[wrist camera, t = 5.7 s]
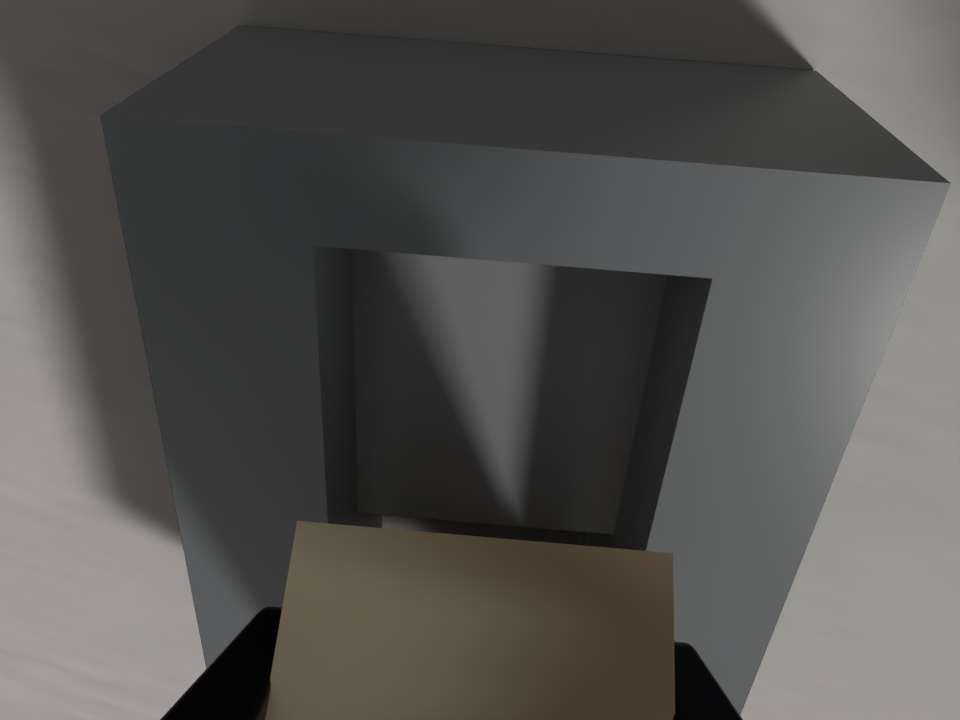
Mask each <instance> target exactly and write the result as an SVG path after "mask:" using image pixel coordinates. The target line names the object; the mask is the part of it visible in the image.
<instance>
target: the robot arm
mask: <svg viewBox="0 0 960 720" xmlns="http://www.w3.org/2000/svg"><path fill="white" fill-rule="evenodd" d="M281 612H282V607H265V608H263V609H262V610H260V611H259V612H258V613H257V614H256V615H255V616H254V618H253V619H252V620H251V621H250V622H249V623H248V624H247V625H246V626H245V627H244V629H243V630H242V631H241V632H240V633H239V634H238V635H237V636H236V637H235V638H234V639H233V641H232V642H231V643H230V644H229V645H228V646H227V647H226V648H225V649H224V650H223V652H222V653H221V654H220V655H219V656H218V657H217V658H216V659H215V660H214V661H213V663H212V664H211V665H210V666H209V667H208V668H207V669H206V670H205V671H204V672H203V673H202V675H201V676H200V677H199V678H198V679H197V680H196V681H195V682H194V683H193V684H192V686H191V687H190V688H189V689H188V690H187V691H186V692H185V693H184V694H183V695H182V697H181V698H180V699H179V700H178V701H177V702H176V703H175V704H174V705H173V706H172V707H171V709H170V710H169V711H168V712H167V713H166V714H165V715H164V716H163V717H162V718H161V720H265V717H266V712H267V706H268V701H269V696H270V690H271V682H270V676H271V671H272V665H273V659H274V653H275V647H276V641H277V636H278V630H279V624H280V618H281ZM674 659H675V715H674V717H673V720H743V719H742V718H741V716H740V715H739V713H738V712H737V710H736V709H735V708H734V706H733V705H732V703H731V702H730V700H729V699H728V697H727V696H726V694H725V693H724V691H723V690H722V688H721V687H720V685H719V684H718V682H717V681H716V679H715V678H714V676H713V675H712V673H711V672H710V670H709V669H708V667H707V666H706V664H705V663H704V661H703V660H702V658H701V657H700V655H699V654H698V652H697V651H696V650H695V648H694V647H693V646H691V645H690V644H689V643H685V642H675V641H674Z"/></svg>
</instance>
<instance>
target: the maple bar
mask: <svg viewBox="0 0 960 720" xmlns="http://www.w3.org/2000/svg"><path fill="white" fill-rule="evenodd" d="M270 682H271V690H270V696H269V701H268V706H267V712H266V717H265V720H673V717H674V715H675V659H674V581H673V553H665V552H653V551H641V550H630V549H618V548H607V547H595V546H583V545H572V544H560V543H548V542H537V541H525V540H514V539H502V538H490V537H479V536H467V535H455V534H444V533H432V532H421V531H409V530H397V529H386V528H374V527H363V526H351V525H339V524H328V523H316V522H304V521H297V524H296V530H295V536H294V542H293V548H292V554H291V560H290V565H289V571H288V577H287V583H286V589H285V595H284V600H283V606H282V612H281V618H280V624H279V630H278V636H277V641H276V647H275V653H274V659H273V665H272V671H271V676H270Z"/></svg>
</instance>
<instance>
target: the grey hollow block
mask: <svg viewBox="0 0 960 720" xmlns="http://www.w3.org/2000/svg"><path fill="white" fill-rule="evenodd" d="M101 121H102V126H103V131H104V136H105V141H106V147H107V152H108V157H109V162H110V168H111V173H112V178H113V183H114V189H115V194H116V199H117V204H118V209H119V215H120V220H121V225H122V230H123V236H124V241H125V246H126V251H127V256H128V262H129V267H130V272H131V277H132V283H133V288H134V293H135V298H136V303H137V309H138V314H139V319H140V324H141V330H142V335H143V340H144V345H145V351H146V356H147V361H148V366H149V371H150V377H151V382H152V387H153V392H154V398H155V403H156V408H157V413H158V418H159V424H160V429H161V434H162V439H163V445H164V450H165V455H166V460H167V466H168V471H169V476H170V481H171V486H172V492H173V497H174V502H175V507H176V513H177V518H178V523H179V528H180V533H181V539H182V544H183V549H184V554H185V560H186V565H187V570H188V575H189V581H190V586H191V591H192V596H193V601H194V607H195V612H196V617H197V622H198V628H199V633H200V638H201V643H202V648H203V654H204V659H205V664H206V669H207V668H208V667H209V666H210V665H211V664H212V663H213V661H214V660H215V659H216V658H217V657H218V656H219V655H220V654H221V653H222V652H223V650H224V649H225V648H226V647H227V646H228V645H229V644H230V643H231V642H232V641H233V639H234V638H235V637H236V636H237V635H238V634H239V633H240V632H241V631H242V630H243V629H244V627H245V626H246V625H247V624H248V623H249V622H250V621H251V620H252V619H253V618H254V616H255V615H256V614H257V613H258V612H259V611H260V610H262V609H263V608H265V607H282V606H283V600H284V595H285V589H286V583H287V577H288V571H289V565H290V560H291V554H292V548H293V542H294V536H295V530H296V524H297V521H304V522H316V523H328V524H339V525H351V526H363V527H374V528H382V515H394V516H405V517H417V518H429V519H440V520H452V521H463V522H475V523H487V524H498V525H510V526H521V527H533V528H544V529H556V530H568V531H579V532H586V536H585V541H584V546H595V547H607V548H618V549H630V550H641V551H653V552H665V553H673V581H674V641H675V642H685V643H689V644H690V645H691V646H693V647H694V648H695V650H696V651H697V652H698V654H699V655H700V657H701V658H702V660H703V661H704V663H705V664H706V666H707V667H708V669H709V670H710V672H711V673H712V675H713V676H714V678H715V679H716V681H717V682H718V684H719V685H720V687H721V688H722V690H723V691H724V693H725V694H726V696H727V697H728V699H729V700H730V702H731V703H732V705H733V706H734V708H735V709H736V710H737V712H738V713H739V715H740V714H741V712H742V709H743V707H744V704H745V702H746V699H747V697H748V694H749V692H750V689H751V687H752V684H753V682H754V679H755V677H756V674H757V671H758V669H759V666H760V664H761V661H762V659H763V656H764V654H765V651H766V649H767V646H768V644H769V641H770V639H771V636H772V634H773V631H774V628H775V626H776V623H777V621H778V618H779V616H780V613H781V611H782V608H783V606H784V603H785V601H786V598H787V596H788V593H789V591H790V588H791V585H792V583H793V580H794V578H795V575H796V573H797V570H798V568H799V565H800V563H801V560H802V558H803V555H804V553H805V550H806V548H807V545H808V543H809V540H810V537H811V535H812V532H813V530H814V527H815V525H816V522H817V520H818V517H819V515H820V512H821V510H822V507H823V505H824V502H825V500H826V497H827V494H828V492H829V489H830V487H831V484H832V482H833V479H834V477H835V474H836V472H837V469H838V467H839V464H840V462H841V459H842V457H843V454H844V452H845V449H846V446H847V444H848V441H849V439H850V436H851V434H852V431H853V429H854V426H855V424H856V421H857V419H858V416H859V414H860V411H861V409H862V406H863V403H864V401H865V398H866V396H867V393H868V391H869V388H870V386H871V383H872V381H873V378H874V376H875V373H876V371H877V368H878V366H879V363H880V361H881V358H882V355H883V353H884V350H885V348H886V345H887V343H888V340H889V338H890V335H891V333H892V330H893V328H894V325H895V323H896V320H897V318H898V315H899V312H900V310H901V307H902V305H903V302H904V300H905V297H906V295H907V292H908V290H909V287H910V285H911V282H912V280H913V277H914V275H915V272H916V270H917V267H918V264H919V262H920V259H921V257H922V254H923V252H924V249H925V247H926V244H927V242H928V239H929V237H930V234H931V232H932V229H933V227H934V224H935V221H936V219H937V216H938V214H939V211H940V209H941V206H942V204H943V201H944V199H945V196H946V194H947V191H948V189H949V186H950V184H951V183H950V182H948V181H947V180H946V179H945V178H944V177H942V176H941V175H940V174H939V173H938V172H936V171H935V170H934V169H933V168H932V167H930V166H929V165H928V164H927V163H926V162H924V161H923V160H922V159H921V158H920V157H919V156H917V155H916V154H915V153H914V152H913V151H911V150H910V149H909V148H908V147H907V146H905V145H904V144H903V143H902V142H901V141H899V140H898V139H897V138H896V137H895V136H893V135H892V134H891V133H890V132H889V131H887V130H886V129H885V128H884V127H883V126H881V125H880V124H879V123H878V122H877V121H875V120H874V119H873V118H872V117H871V116H869V115H868V114H867V113H866V112H865V111H864V110H862V109H861V108H860V107H859V106H858V105H856V104H855V103H854V102H853V101H852V100H850V99H849V98H848V97H847V96H846V95H844V94H843V93H842V92H841V91H840V90H838V89H837V88H836V87H835V86H834V85H832V84H831V83H830V82H829V81H828V80H826V79H825V78H824V77H823V76H822V75H820V74H819V73H818V72H817V71H812V70H799V69H786V68H773V67H761V66H748V65H735V64H722V63H710V62H697V61H684V60H671V59H659V58H646V57H633V56H620V55H608V54H595V53H582V52H569V51H556V50H544V49H531V48H518V47H505V46H493V45H480V44H467V43H454V42H442V41H429V40H416V39H403V38H391V37H378V36H365V35H352V34H340V33H327V32H314V31H301V30H289V29H276V28H263V27H250V26H238V27H237V28H235V29H234V30H232V31H230V32H229V33H227V34H226V35H224V36H223V37H221V38H220V39H218V40H216V41H215V42H213V43H212V44H210V45H209V46H207V47H206V48H204V49H203V50H201V51H199V52H198V53H196V54H195V55H193V56H192V57H190V58H189V59H187V60H185V61H184V62H182V63H181V64H179V65H178V66H176V67H175V68H173V69H171V70H170V71H168V72H167V73H165V74H164V75H162V76H161V77H159V78H158V79H156V80H154V81H153V82H151V83H150V84H148V85H147V86H145V87H144V88H142V89H140V90H139V91H137V92H136V93H134V94H133V95H131V96H130V97H128V98H126V99H125V100H123V101H122V102H120V103H119V104H117V105H116V106H114V107H113V108H111V109H109V110H108V111H106V112H105V113H103V114H102V115H101Z"/></svg>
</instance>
